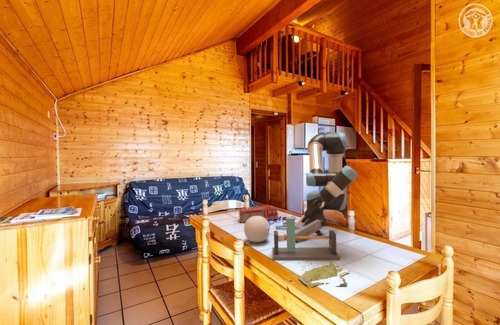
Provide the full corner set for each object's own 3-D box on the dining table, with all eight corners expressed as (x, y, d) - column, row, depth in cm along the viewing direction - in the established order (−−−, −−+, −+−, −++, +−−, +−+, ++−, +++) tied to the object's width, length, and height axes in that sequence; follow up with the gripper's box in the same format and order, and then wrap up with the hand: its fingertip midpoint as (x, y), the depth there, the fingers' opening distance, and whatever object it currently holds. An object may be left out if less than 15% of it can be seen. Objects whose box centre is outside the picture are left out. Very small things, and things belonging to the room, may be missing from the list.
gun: (327, 232, 152) (324, 217, 151) (297, 250, 140) (294, 234, 138) (324, 231, 154) (321, 216, 153) (294, 249, 142) (291, 233, 140)
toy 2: (275, 242, 141) (274, 216, 140) (252, 248, 134) (251, 221, 133) (261, 235, 154) (261, 211, 153) (240, 240, 147) (239, 215, 146)
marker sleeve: (294, 248, 124) (294, 217, 124) (295, 250, 121) (294, 218, 121) (286, 248, 125) (286, 217, 124) (287, 250, 122) (286, 218, 121)
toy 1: (279, 220, 188) (278, 207, 187) (241, 224, 181) (241, 210, 180) (274, 217, 198) (274, 204, 198) (238, 220, 191) (238, 208, 190)
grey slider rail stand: (333, 250, 127) (333, 228, 127) (340, 260, 115) (340, 236, 115) (272, 250, 130) (271, 229, 129) (272, 260, 118) (272, 236, 118)
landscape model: (324, 301, 86) (324, 295, 86) (295, 279, 99) (295, 274, 98) (364, 281, 100) (364, 276, 99) (333, 264, 112) (334, 259, 112)
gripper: (321, 185, 127) (290, 217, 129) (327, 189, 114) (292, 224, 116) (332, 195, 127) (300, 227, 129) (339, 200, 114) (304, 235, 116)
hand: (297, 226), depth 122 cm, fingers closed
